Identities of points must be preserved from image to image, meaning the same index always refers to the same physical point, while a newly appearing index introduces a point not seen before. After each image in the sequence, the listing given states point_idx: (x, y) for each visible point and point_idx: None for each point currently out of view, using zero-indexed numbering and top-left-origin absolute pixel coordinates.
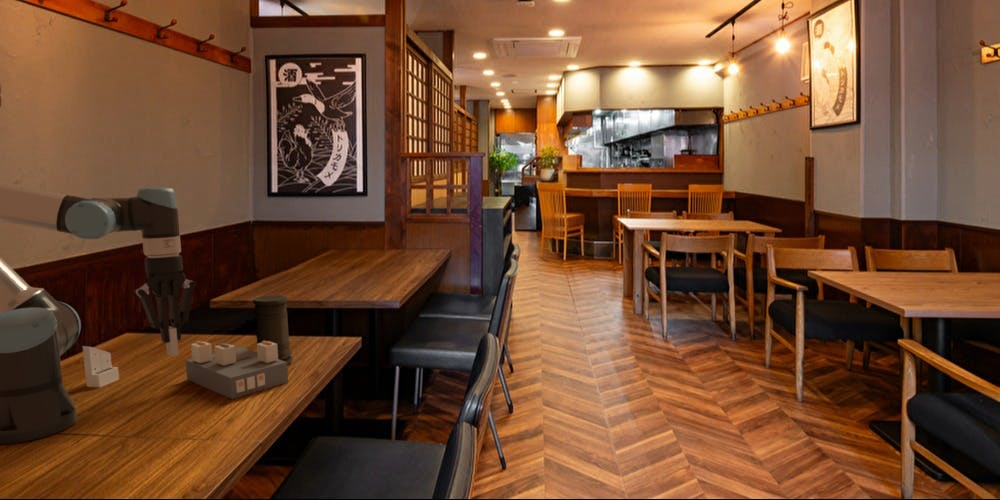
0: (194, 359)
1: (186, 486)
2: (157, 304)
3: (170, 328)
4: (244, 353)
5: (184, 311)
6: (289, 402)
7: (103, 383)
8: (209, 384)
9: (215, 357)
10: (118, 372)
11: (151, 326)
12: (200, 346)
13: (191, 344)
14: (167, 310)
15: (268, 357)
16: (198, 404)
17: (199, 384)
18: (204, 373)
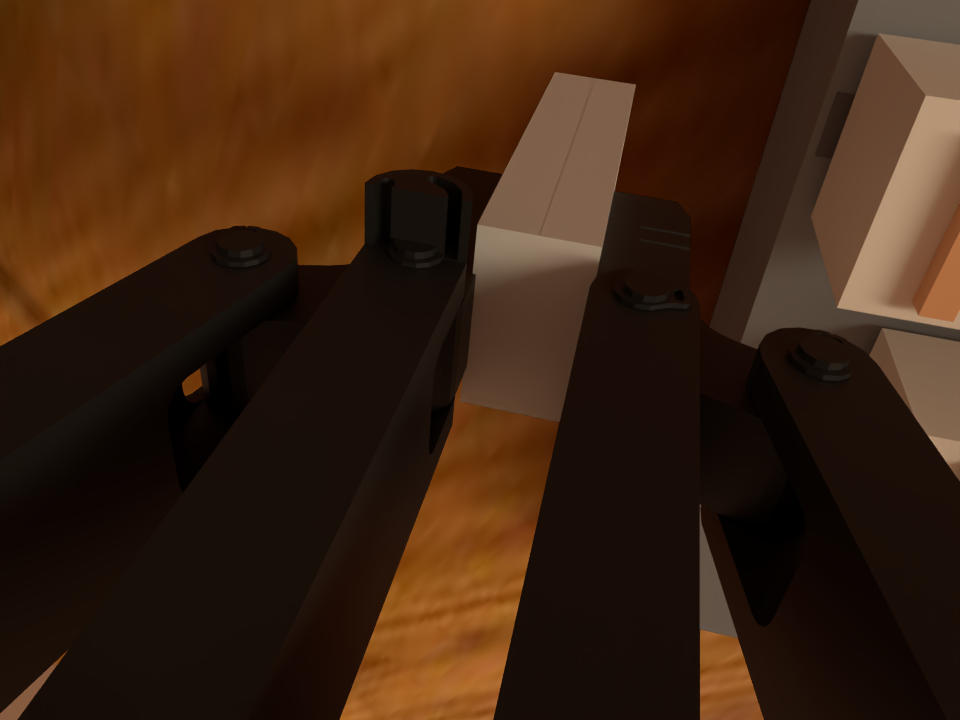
0: (859, 98)
1: None
2: (103, 636)
3: (502, 367)
4: None
5: (753, 683)
6: (740, 715)
7: None
8: (723, 306)
9: (889, 363)
10: None
11: (217, 233)
12: (862, 306)
13: (921, 104)
14: (351, 678)
15: None
16: (511, 419)
17: (770, 131)
18: (746, 284)
